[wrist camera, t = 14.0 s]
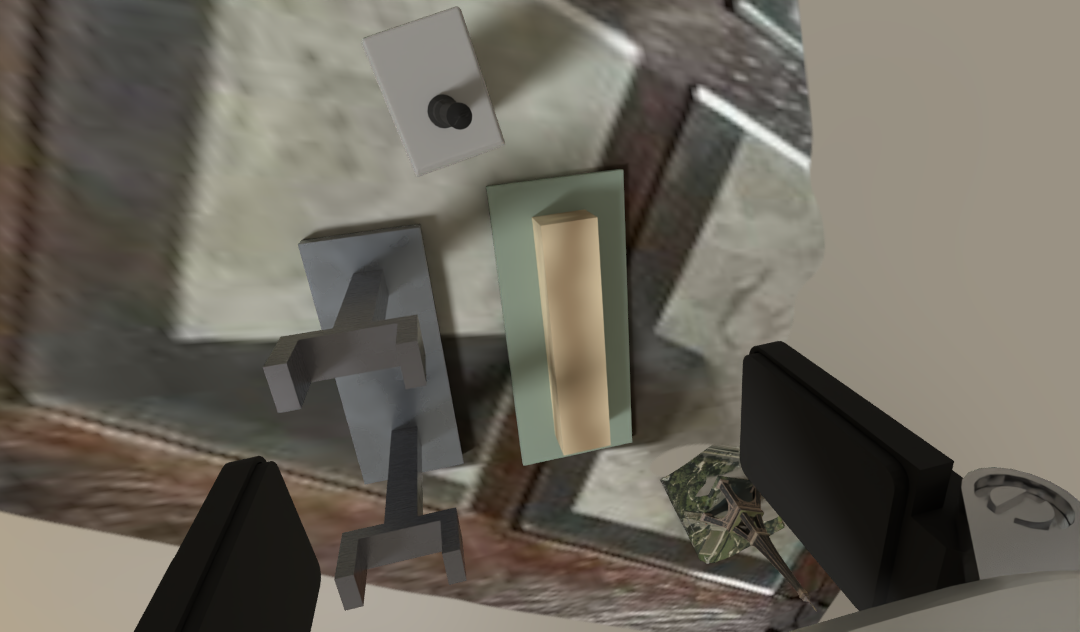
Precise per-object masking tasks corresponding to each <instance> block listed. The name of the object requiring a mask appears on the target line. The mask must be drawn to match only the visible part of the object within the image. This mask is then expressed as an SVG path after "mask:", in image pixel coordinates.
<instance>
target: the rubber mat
mask: <svg viewBox="0 0 1080 632" xmlns="http://www.w3.org/2000/svg"><path fill="white" fill-rule="evenodd" d="M486 189H487V197H488V204H489V212H490V220H491V227H492V235H493V242H494V250H495V258H496V265H497V273H498V280H499V288H500V296H501V303H502V311H503V318H504V326H505V334H506V341H507V349H508V356H509V364H510V372H511V379H512V387H513V394H514V402H515V410H516V417H517V425H518V432H519V440H520V447H521V455H522V462H523V465H529V464H534V463H538V462H543V461H547V460H552V459H557V458H561V457H566V456H571V455H575V454H580V453H584V452H589V451H594V450H598V449H603V448H607V447H612V446H617V445H621V444H626V443H630V442H632V427H631V396H630V364H629V333H628V302H627V271H626V240H625V209H624V177H623V170H622V169H615V170H608V171H600V172H592V173H584V174H577V175H569V176H561V177H553V178H546V179H538V180H530V181H522V182H515V183H507V184H499V185H492V186H486ZM584 209H585V210H587V211H588V212H590V213H591V214H593V215H595V216H596V217H597V218H598V235H599V252H600V269H601V286H602V303H603V321H604V338H605V355H606V372H607V389H608V406H609V423H610V440H611V445H610V446H606V447H601V448H597V449H592V450H588V451H583V452H578V453H574V454H569V455H565V456H564V455H563V452H562V450H561V448H560V445H559V443H558V440H557V438H556V436H555V429H554V420H553V410H552V401H551V392H550V382H549V373H548V364H547V354H546V345H545V336H544V326H543V317H542V308H541V298H540V289H539V280H538V270H537V261H536V252H535V242H534V233H533V224H532V217H537V216H543V215H550V214H557V213H564V212H571V211H577V210H584Z"/></svg>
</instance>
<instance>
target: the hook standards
mask: <svg viewBox="0 0 1080 632" xmlns="http://www.w3.org/2000/svg"><path fill="white" fill-rule="evenodd" d="M298 247H299V250H300V254H301V257H302V261H303V264H304V268H305V272H306V275H307V279H308V282H309V286H310V290H311V293H312V297H313V300H314V304H315V307H316V311H317V315H318V318H319V322H320V325H321V329H322V330H319V331H313V332H307V333H301V334H295V335H289V336H283V337H280V339H279V341H278V342H277V344H276V346H275V348H274V349H273V351H272V353H271V354H270V356H269V358H268V359H267V361H266V363H265V365H264V366H263V369H264V372H265V375H266V378H267V381H268V384H269V387H270V390H271V393H272V396H273V399H274V402H275V405H276V408H277V411H278V413H282V412H287V411H292V410H298V409H301V407H302V405H303V402H304V400H305V397H306V394H307V392H308V389H309V386H310V384H311V382H315V381H321V380H326V379H332V378H335V379H336V383H337V386H338V390H339V393H340V397H341V400H342V404H343V408H344V411H345V415H346V418H347V422H348V425H349V429H350V433H351V436H352V440H353V443H354V447H355V450H356V454H357V458H358V461H359V465H360V468H361V472H362V476H363V479H364V483H365V484H369V483H374V482H379V481H383V480H388V482H387V495H386V508H385V521H384V524H381V525H376V526H372V527H367V528H363V529H358V530H354V531H349V532H345V533H342V538H341V544H340V550H339V556H338V561H337V567H336V573H335V579H334V580H335V582H336V585H337V589H338V591H339V594H340V597H341V600H342V603H343V606H344V609H345V610H349V609H353V608H357V607H361V606H363V604H364V595H365V586H366V576H367V569H370V568H374V567H378V566H382V565H387V564H391V563H395V562H399V561H403V560H408V559H412V558H416V557H420V556H425V555H429V554H433V553H437V552H441V551H442V555H443V559H444V564H445V568H446V573H447V577H448V582H449V585H450V584H454V583H458V582H462V581H466V571H465V562H464V552H463V542H462V535H461V530H460V525H459V520H458V515H457V510H456V508H452V509H447V510H443V511H438V512H434V513H429V514H425V515H423V492H422V472H426V471H430V470H435V469H440V468H445V467H449V466H454V465H459V464H463V455H462V450H461V444H460V439H459V433H458V428H457V423H456V417H455V412H454V406H453V401H452V395H451V390H450V385H449V379H448V374H447V368H446V363H445V358H444V352H443V347H442V341H441V336H440V330H439V325H438V320H437V314H436V309H435V303H434V298H433V292H432V287H431V282H430V276H429V271H428V265H427V260H426V255H425V249H424V244H423V238H422V233H421V227H420V224H416V225H408V226H401V227H394V228H387V229H379V230H372V231H365V232H358V233H350V234H343V235H336V236H329V237H322V238H314V239H307V240H301V241H300V243H299V244H298Z"/></svg>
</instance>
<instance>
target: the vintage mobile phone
mask: <svg viewBox="0 0 1080 632" xmlns="http://www.w3.org/2000/svg"><path fill="white" fill-rule="evenodd" d="M362 46H363V48H364V51H365V53H366V56H367V58H368V60H369V63H370V65H371V68H372V70H373V73H374V75H375V78H376V80H377V82H378V85H379V87H380V90H381V92H382V95H383V97H384V99H385V102H386V104H387V107H388V109H389V112H390V114H391V116H392V119H393V121H394V124H395V126H396V129H397V131H398V133H399V136H400V138H401V141H402V143H403V146H404V148H405V150H406V153H407V155H408V158H409V160H410V163H411V165H412V167H413V170H414V172H415V175H416V176H421V175H424V174H427V173H430V172H432V171H435V170H438V169H441V168H443V167H446V166H449V165H452V164H454V163H457V162H460V161H463V160H465V159H468V158H471V157H474V156H477V155H479V154H482V153H485V152H488V151H490V150H493V149H496V148H499V147H501V146H504V145H505V141H504V138H503V135H502V132H501V129H500V126H499V123H498V120H497V117H496V114H495V111H494V108H493V105H492V102H491V99H490V96H489V93H488V90H487V87H486V84H485V81H484V78H483V75H482V72H481V69H480V66H479V63H478V60H477V57H476V54H475V51H474V48H473V45H472V42H471V38H470V35H469V32H468V29H467V26H466V23H465V20H464V17H463V14H462V11H461V9H460V8H459V7H453V8H450V9H447V10H444V11H441V12H438V13H435V14H433V15H430V16H427V17H424V18H421V19H418V20H415V21H412V22H409V23H406V24H403V25H400V26H397V27H394V28H391V29H388V30H385V31H382V32H379V33H376V34H374V35H371V36H368V37H365V38H363V39H362Z"/></svg>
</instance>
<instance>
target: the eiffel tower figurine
mask: <svg viewBox="0 0 1080 632" xmlns="http://www.w3.org/2000/svg"><path fill="white" fill-rule="evenodd" d="M738 468H741V463H740V447H727V446H720V445H711V446H710V447H708V448H707V449H706V450H704V451H703V452H701V453H700V454H699V455H697V456H696V457H695V458H693V459H692V460H691V461H689V462H688V463H687V464H685V465H684V466H682V467H681V468H679V469H678V470H676V471H674V472H673V473H671V474H670V475H668V476H666V477H665V478H663V479H662V480H661V482H662V484H663V486H664V488H665V490H666V492H667V494H668V496H669V499H670V501H671V503H672V505H673V507H674V509H675V511H676V513H677V515H678V516H679V518H680V520H681V522H682V524H683V526H684V528H685V530H686V532H687V534H688V536H689V538H690V540H691V542H692V544H693V546H694V549H695V551H696V553H697V555H698V557H699V559H700V561H704V562H705V563H707V564H708V563H711V562H712V563H715V562H717V561H719V560H722V559H725V558H728V557H730V556H732V555H734V554H736V553H738V552H740V551H742V550H744V549H745V548H747V547H749V546H755V547H756V548H757V549H758V550H759V551H760V552H761V553H762V554H763V555H764V556H765V557H766V558H767V559H768V560H769V561H770V562H771V563H772V564H773V565H774V566H775V568H776V569H777V570H778V571H779V572H780V573H781V574H782V575H783V576H784V577H785V579H786V580H787V581H788V582H789V583H790V584H791V585H792V586H793V588H794V589H795V590H796V591H797V592H798V594H799V595H800V598H801V599H802V600H803V601H807V602H809V603H810V595H809V593H808V592H806V591H805V590H804V589H803V588H802V586H801V585H800V584H799V582H798V581H797V579H796V578H795V576H794V575H793V574H792V572H791V571H790V569H789V568H788V566H787V565H786V563H785V562H784V561H783V559H782V558H781V556H780V555H779V553H778V552H777V550H776V548H775V547H774V545H773V543H772V542H771V540H770V538H769V536H770V535H772V534H773V533H775V532H777V531H779V530H781V529H783V528H784V525H783V522H782V519H781V517H780V516H779V517H777V518H775V519H773V520H771V521H767V522H766V521H763V520H762V516H763V514H764V512H763V511H762V510H761V493H760V492H759V491H758V490H757V489H756V487H755V486H754V485H753V484H752V483H751V481H750V480H744V479H737V478H730V477H724V476H720V475H724V474H727V473H729V472H732V471H734V470H736V469H738ZM715 476H718V477H717V479H716V481H715V483H714V485H713V487H712V489H711V491H710V493H709V495H706V496H702V497H695V496H696V494H697V493H698V491H699V490H700V489H701V488H702V487H703V485H704V484H705V483H706V477H715ZM810 604H811V603H810ZM811 605H812V604H811ZM812 606H813V605H812ZM813 608H814V606H813ZM814 609H815V608H814ZM815 610H816V609H815ZM816 611H817V610H816Z"/></svg>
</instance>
